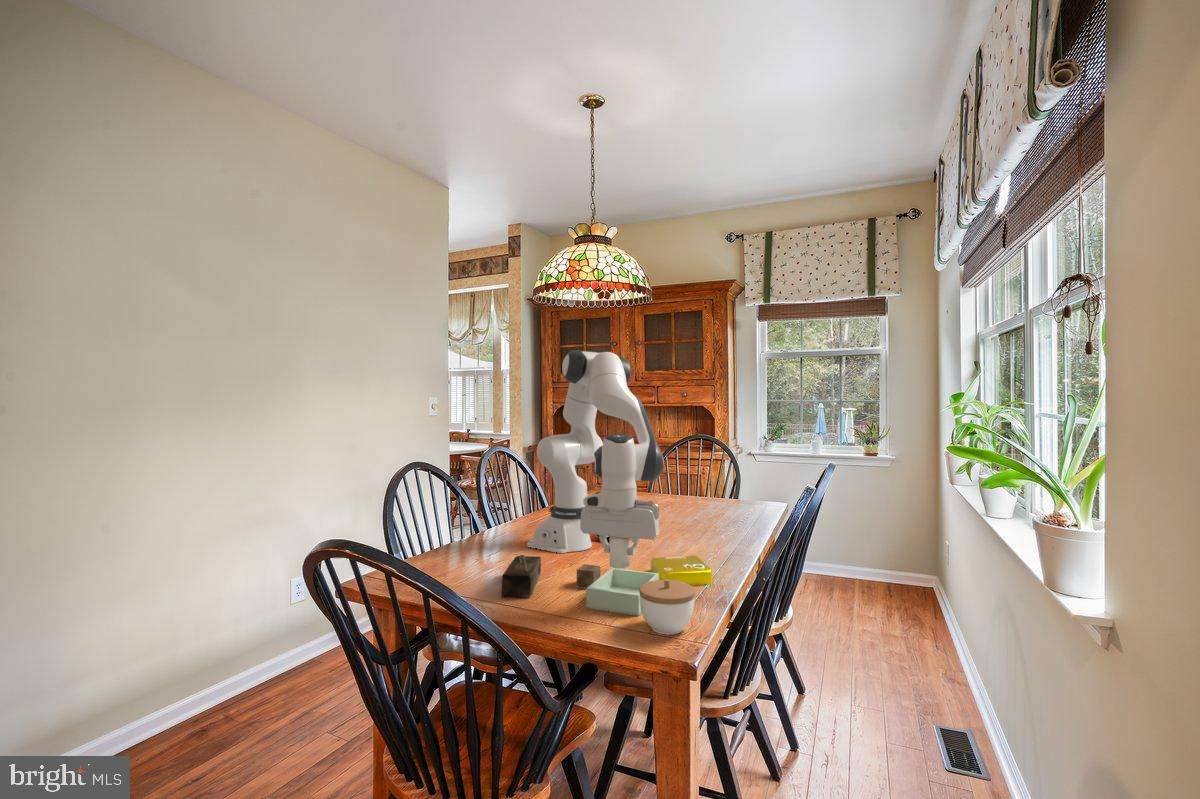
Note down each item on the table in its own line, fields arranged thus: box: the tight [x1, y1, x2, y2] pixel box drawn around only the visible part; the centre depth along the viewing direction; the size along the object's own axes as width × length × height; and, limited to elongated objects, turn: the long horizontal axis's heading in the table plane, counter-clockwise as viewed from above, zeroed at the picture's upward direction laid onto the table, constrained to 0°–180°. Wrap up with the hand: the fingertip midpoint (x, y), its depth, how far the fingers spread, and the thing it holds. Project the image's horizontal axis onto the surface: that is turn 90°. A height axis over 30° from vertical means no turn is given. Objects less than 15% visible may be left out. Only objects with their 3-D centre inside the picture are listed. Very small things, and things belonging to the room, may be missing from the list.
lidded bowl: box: [639, 579, 696, 636], centre depth 133 cm, size 13×13×11 cm
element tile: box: [650, 555, 713, 586], centre depth 169 cm, size 15×15×5 cm
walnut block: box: [576, 563, 601, 589], centre depth 162 cm, size 5×5×5 cm
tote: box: [586, 567, 659, 617], centre depth 151 cm, size 14×18×5 cm
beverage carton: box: [501, 554, 542, 599], centre depth 161 cm, size 8×19×7 cm, turn 177°
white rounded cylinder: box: [608, 536, 631, 569], centre depth 147 cm, size 5×5×7 cm
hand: (619, 553), depth 147 cm, fingers closed on white rounded cylinder, 5 cm apart
